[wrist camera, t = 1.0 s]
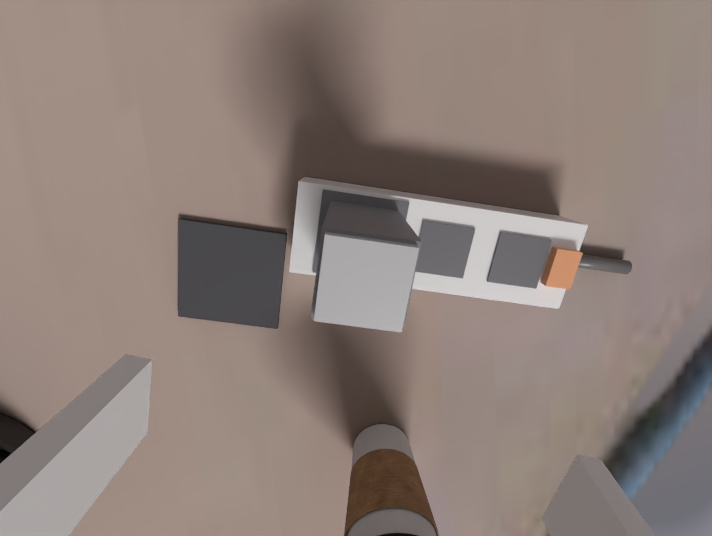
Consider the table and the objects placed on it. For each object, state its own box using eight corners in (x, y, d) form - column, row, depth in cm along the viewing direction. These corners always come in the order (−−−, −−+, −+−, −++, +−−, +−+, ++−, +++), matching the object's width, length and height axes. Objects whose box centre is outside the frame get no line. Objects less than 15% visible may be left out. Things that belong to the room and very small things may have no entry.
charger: (322, 265, 29) (309, 324, 19) (331, 200, 27) (320, 229, 18) (386, 273, 29) (404, 336, 20) (398, 210, 27) (424, 244, 18)
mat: (180, 314, 34) (178, 316, 34) (180, 218, 32) (178, 219, 31) (278, 326, 35) (277, 328, 35) (287, 233, 32) (286, 234, 32)
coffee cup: (334, 420, 38) (326, 582, 24) (416, 408, 38) (456, 565, 24) (348, 482, 41) (348, 661, 27) (425, 471, 41) (465, 646, 26)
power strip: (296, 257, 33) (287, 275, 28) (304, 176, 31) (297, 182, 26) (607, 300, 35) (647, 324, 30) (636, 227, 33) (683, 240, 28)
